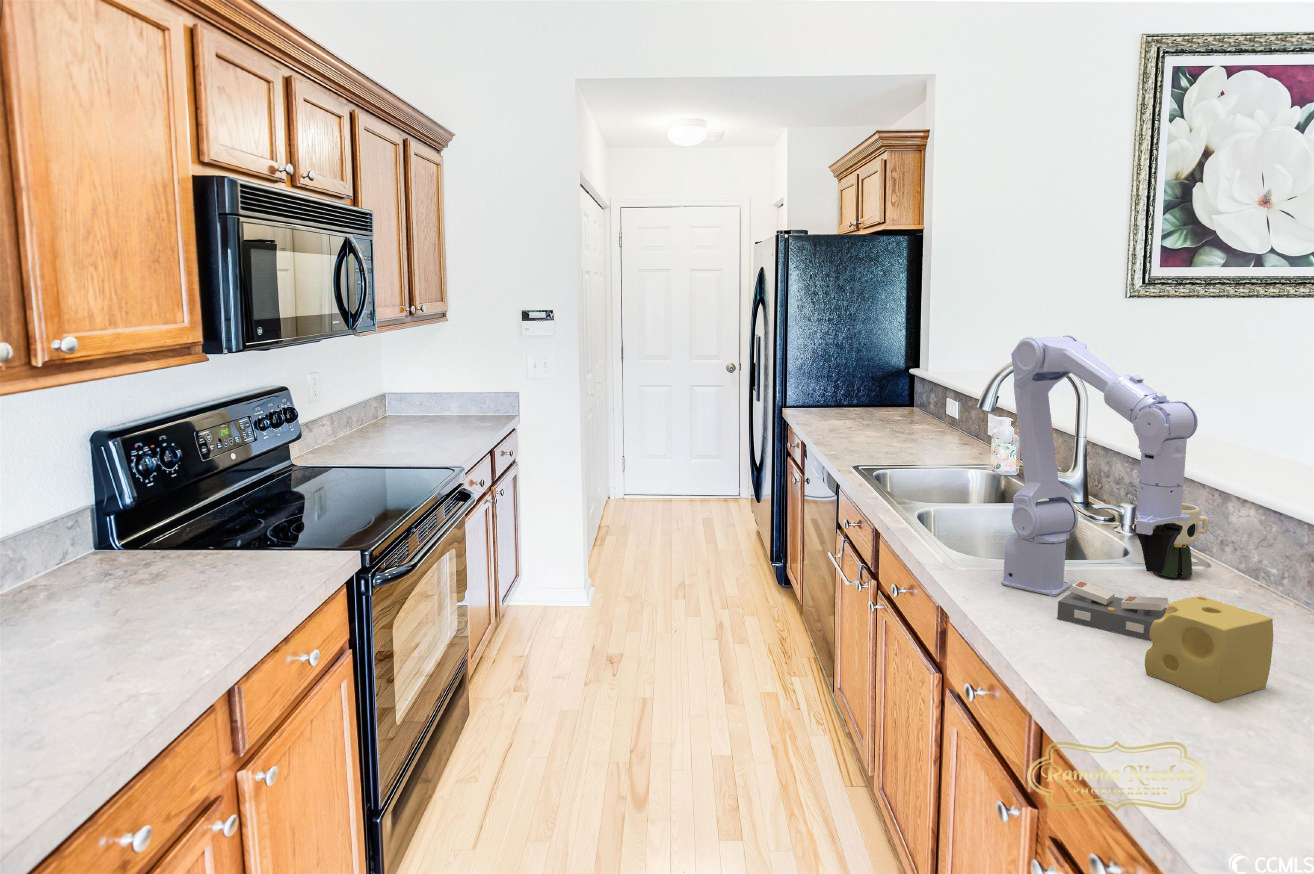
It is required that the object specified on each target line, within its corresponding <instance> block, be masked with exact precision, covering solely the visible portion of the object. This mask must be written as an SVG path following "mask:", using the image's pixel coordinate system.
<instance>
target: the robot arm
mask: <svg viewBox="0 0 1314 874" xmlns="http://www.w3.org/2000/svg"><path fill="white" fill-rule="evenodd" d="M1010 356H1011V363H1012V372H1013V373H1012V374H1013V393H1014V401H1015V409H1016V410H1015V412H1016V418H1017V427H1018V435H1019V444H1020V453H1021V461H1022V470H1023V478H1024V485H1023V486H1022V487H1021V488H1020V489H1019V490H1018V491H1017V492H1016V493H1015V494H1014V496H1012V500H1013V508H1012V513H1011V523H1012V527H1013V529H1014V531H1015V533H1014V532H1013V533H1012V534H1010V535H1009V536H1008V538H1007V540H1006V543H1005V548H1004V558H1003V559H1004V560H1003V564H1004V565H1003V581H1001V585H1003V586H1006V587H1011V588H1015V589H1020V590H1024V591H1028V592H1034V593H1038V594H1043V595H1048V596H1052V597H1057V596H1058V595H1059V594H1061V593H1062V592H1065V590H1067V589H1069V588H1071V586H1072V585H1073V583H1072V582H1070V581H1066V580H1064V578H1065V566H1066V565H1065V563H1066V548H1067V547H1066V546H1067V540H1068V539H1070V534H1071V533H1073V532H1074V531H1075V530H1076V529H1077V526H1078V523H1079V514H1078V511H1077V508H1076V506H1075V503H1074V502H1073V499H1072V492H1071V491H1070V490H1069V489H1068V488H1067V487H1066V486H1065V485H1064V484H1062V483H1060V481H1059V474H1058V466H1057V458H1056V457H1057V456H1056V450H1055V449H1056V448H1055V439H1054V432H1053V422H1052V415H1051V407H1050V398H1049V392H1050V391H1051V390H1052V389H1053V388H1054V387H1055V385H1057V384H1058V383H1060V382H1061V381H1062V380H1063V379H1065V378H1066V377H1068V376H1069V375H1070V374H1072V375H1074V376H1076V377H1077V378H1079V379H1080V380H1082V381H1083V382H1085V383H1087V384H1088V385H1090V386H1092V387H1093V388H1095V389H1097V390H1098V391H1099V392H1101V393H1102V394H1103V401H1104V403H1105V405H1106V406H1107V407H1109V408H1110V409H1112V410H1113V411H1115V412H1116V413H1117V414H1119V415H1120V416H1121V417H1122V418H1124V419H1125V420H1126V421H1128V422H1129V423H1130V424H1132V426H1133V431H1134V433H1135V435H1136V437H1137V439H1138V449H1139V452H1140V453H1141V454H1140V467H1139V479H1138V480H1139V482H1138V497H1137V509H1136V510H1135V516H1136V522H1135V524H1134V525H1133V530H1134V533H1135V535H1136V537H1137V539H1138V541H1139V543H1140V546H1141V551H1142V554H1143V561H1144V566H1145V569H1146V571H1147V572H1149V573H1155V574H1158V573H1160V574H1161V573H1163V572H1164V570H1165V568H1166V565H1167V562H1168V559H1169V555H1170V552H1171V549H1172V547H1173V544H1174V542H1175V540H1176V539H1177V537H1178V535H1179V534H1180V532H1181V531H1182V529H1183V526H1182V525H1178V524H1171V523H1172V522H1178V521H1189V520H1190V517H1191V515H1188V514H1183V513H1182V503H1183V499H1184V498H1183V495H1184V485H1185V483H1184V482H1185V471H1186V470H1185V469H1186V468H1185V467H1186V457H1187V456H1186V455H1187V443H1188V442H1187V441H1188V439H1190V438H1192V436H1194V434H1195V433H1196V431H1197V429H1198V424H1199V423H1198V415H1197V413H1196V410H1194V409H1193V407H1192V406H1190V405H1189V403H1188V402H1187V401H1183V400H1175V401H1171V400H1170V399H1168V398H1167V395H1166V394H1164V393H1163V392H1158V391H1156V390H1154V389H1153V388H1151V387H1150V386H1148V385H1147V384H1146V383H1144V380H1145V379H1144V378H1143V377H1142V376H1141V375H1137V374H1136V375H1131V374H1123V375H1119V374H1118V373H1116V372H1115V371H1114V370H1113V369H1112V368H1110V367H1109V366H1108V365H1107V364H1105V363H1104V362H1102V361H1101V360H1100V358H1098V357H1097V356H1095V354H1093V353H1092V352H1090V351H1089V350H1088V348H1087V344H1086V343H1085V342H1083V341H1080V340H1079V339H1078V338H1077V337H1075V336H1073V335H1062V336H1045V337H1040V336H1039V337H1033V336H1026V337H1024V338H1022V339H1021V340H1019V342H1018V343H1017V345H1016V346H1015V347H1014V349H1013V350H1012V352H1011V354H1010ZM1045 499H1047V500H1045ZM1040 500H1041V501H1040ZM1160 574H1159V575H1160Z"/></svg>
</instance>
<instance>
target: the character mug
mask: <svg viewBox="0 0 1314 874" xmlns="http://www.w3.org/2000/svg"><path fill="white" fill-rule="evenodd" d="M1182 513H1183V514H1188V515H1191V517H1190V520H1189V521H1178V522H1172V523H1171V524H1178V525H1182V526H1183V529H1182V531H1181V532H1180V534H1179V535H1178V537H1177V539H1176V540H1175V542H1174V544H1173V547H1172V549H1171V552H1170V555H1169V559H1168V562H1167V565H1166V568H1165V570H1164V572H1163V573H1161V574H1160V573H1157V574H1158V575H1161V576H1165V577H1170V578H1178V576H1180V577H1182V578H1190V577H1191V576H1192V575H1193V563H1192V551H1191V547H1190V546H1189V545H1190V544H1194V543H1196V541H1197V539H1198V538H1199V535H1203V534H1205V535H1206V534H1207V533H1208V531H1209V517H1208V516H1206V515H1200V514H1201V508H1200V507H1199V506H1197V505H1194V504H1190V503H1185V502H1182ZM1200 522H1202V523H1201V528H1200Z"/></svg>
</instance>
